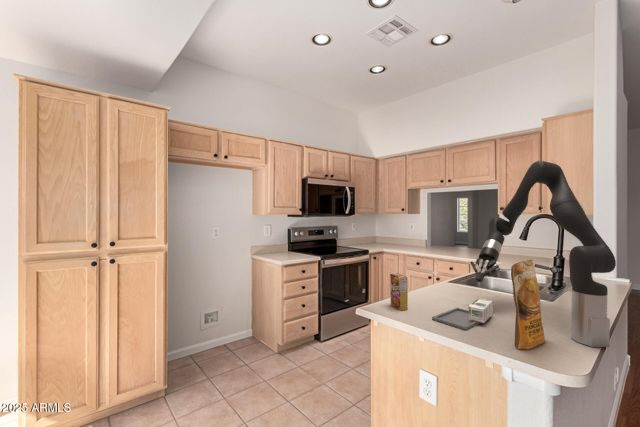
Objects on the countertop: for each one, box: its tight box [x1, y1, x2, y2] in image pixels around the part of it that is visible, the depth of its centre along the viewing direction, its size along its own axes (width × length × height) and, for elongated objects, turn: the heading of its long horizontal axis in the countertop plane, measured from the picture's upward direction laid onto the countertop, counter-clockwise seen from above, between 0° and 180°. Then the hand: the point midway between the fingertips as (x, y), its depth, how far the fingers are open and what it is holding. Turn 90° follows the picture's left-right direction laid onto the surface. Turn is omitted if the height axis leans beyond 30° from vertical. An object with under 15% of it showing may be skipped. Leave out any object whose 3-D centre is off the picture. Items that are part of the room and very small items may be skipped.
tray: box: [431, 307, 490, 331], centre depth 126 cm, size 20×14×1 cm
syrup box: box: [468, 297, 494, 324], centre depth 125 cm, size 6×6×14 cm
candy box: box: [389, 272, 409, 311], centre depth 141 cm, size 9×4×15 cm, turn 17°
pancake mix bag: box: [510, 259, 546, 351], centre depth 103 cm, size 7×19×28 cm, turn 121°
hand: (478, 281), depth 135 cm, fingers closed
